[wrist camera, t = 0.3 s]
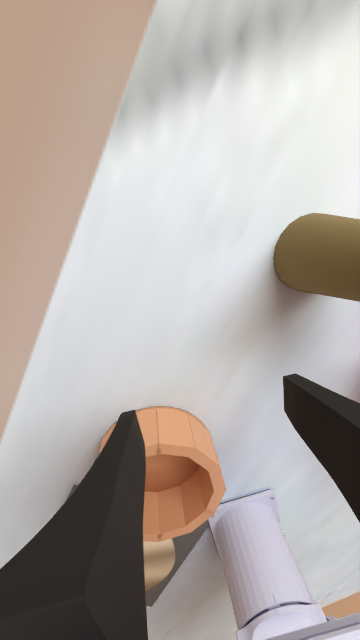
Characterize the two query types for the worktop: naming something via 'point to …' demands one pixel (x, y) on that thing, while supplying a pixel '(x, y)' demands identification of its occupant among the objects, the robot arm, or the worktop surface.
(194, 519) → the bowl
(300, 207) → the worktop surface
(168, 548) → the lid
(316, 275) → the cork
